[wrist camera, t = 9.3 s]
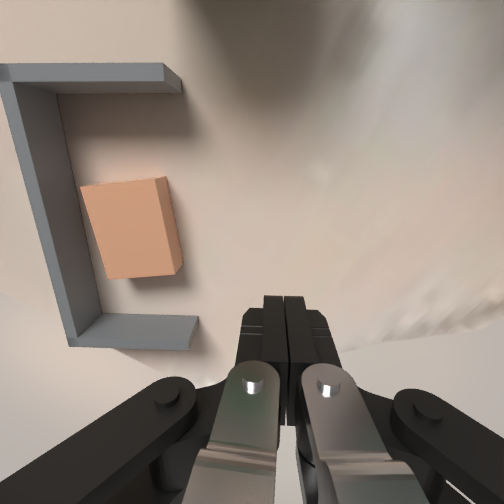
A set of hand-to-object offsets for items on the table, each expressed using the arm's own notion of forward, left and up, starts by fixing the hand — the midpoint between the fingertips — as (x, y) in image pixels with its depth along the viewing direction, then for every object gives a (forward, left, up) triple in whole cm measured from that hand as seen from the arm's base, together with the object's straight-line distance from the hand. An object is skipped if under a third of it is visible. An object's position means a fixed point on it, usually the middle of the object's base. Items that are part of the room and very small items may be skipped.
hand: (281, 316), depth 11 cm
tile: (+12, 0, -15) cm, 19 cm away
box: (+12, 0, -15) cm, 19 cm away
